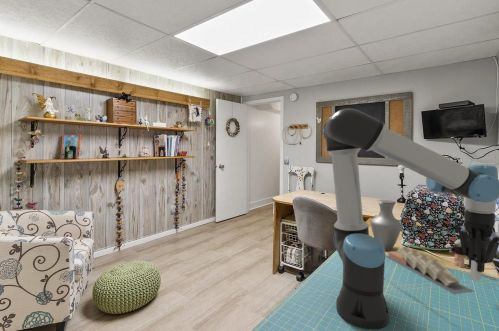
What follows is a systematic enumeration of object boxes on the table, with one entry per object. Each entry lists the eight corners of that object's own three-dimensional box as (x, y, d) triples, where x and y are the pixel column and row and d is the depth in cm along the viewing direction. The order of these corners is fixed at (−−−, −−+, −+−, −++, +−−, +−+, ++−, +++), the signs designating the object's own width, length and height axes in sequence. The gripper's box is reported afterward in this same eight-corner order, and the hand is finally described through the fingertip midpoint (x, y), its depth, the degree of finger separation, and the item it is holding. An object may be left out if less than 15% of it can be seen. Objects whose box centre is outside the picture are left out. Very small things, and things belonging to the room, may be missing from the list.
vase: (366, 248, 132) (367, 201, 130) (373, 241, 143) (375, 197, 141) (397, 256, 122) (399, 205, 121) (403, 247, 133) (405, 200, 132)
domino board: (454, 296, 88) (454, 294, 88) (385, 258, 120) (385, 256, 119) (474, 293, 91) (474, 290, 91) (401, 256, 122) (401, 254, 122)
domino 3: (426, 271, 101) (407, 252, 110) (424, 274, 102) (405, 255, 111) (436, 270, 102) (417, 250, 111) (433, 273, 103) (415, 254, 112)
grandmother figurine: (471, 270, 108) (473, 241, 107) (466, 272, 106) (468, 242, 106) (450, 263, 115) (452, 235, 114) (446, 264, 113) (447, 237, 112)
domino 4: (437, 277, 97) (417, 256, 105) (434, 280, 98) (415, 259, 106) (447, 275, 98) (426, 255, 106) (444, 279, 99) (424, 258, 107)
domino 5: (449, 283, 92) (427, 261, 101) (446, 286, 93) (424, 264, 102) (459, 281, 93) (437, 259, 102) (457, 285, 94) (434, 263, 103)
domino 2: (415, 266, 106) (398, 247, 114) (413, 269, 107) (397, 250, 115) (425, 264, 107) (408, 246, 115) (423, 267, 108) (406, 249, 116)
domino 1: (406, 260, 110) (388, 251, 120) (406, 265, 110) (388, 255, 120) (415, 259, 112) (397, 250, 121) (415, 264, 112) (397, 255, 121)
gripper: (512, 215, 79) (507, 288, 81) (467, 206, 92) (463, 269, 93) (494, 216, 77) (489, 291, 79) (451, 207, 90) (447, 271, 91)
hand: (475, 279), depth 86 cm, fingers closed
